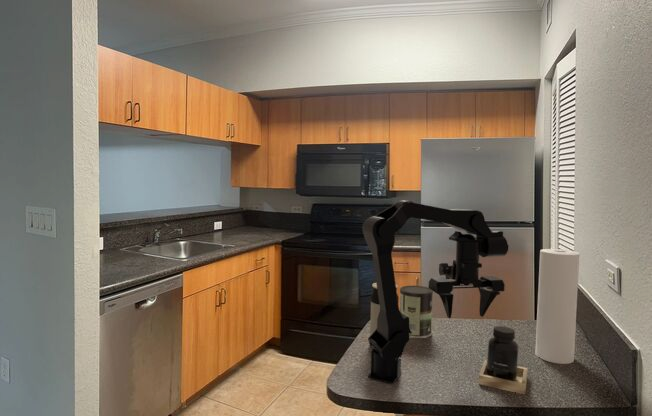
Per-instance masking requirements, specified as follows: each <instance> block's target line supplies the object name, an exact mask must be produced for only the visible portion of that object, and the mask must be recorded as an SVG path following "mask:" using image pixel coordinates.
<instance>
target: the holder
mask: <svg viewBox="0 0 652 416" xmlns="http://www.w3.org/2000/svg"><path fill="white" fill-rule="evenodd" d="M527 381H528V367H523V366H518V365H517V378H516V380H515V381H510V380H506V379H501V378H497V377H492V376H488V375H487V359H484V360H483V364H482V367H481V368H480V372H479V375H478V385H481V386H486V387H490V388H495V389H498V390H503V391H506V392H512V393H515V392H516V393H515V394H520V395H525V396H526V391H527Z"/></svg>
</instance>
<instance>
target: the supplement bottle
mask: <svg viewBox="0 0 652 416" xmlns="http://www.w3.org/2000/svg"><path fill="white" fill-rule="evenodd" d="M492 331H493V332H492V337H490V338H489V339H488V342H487V343H488V344H487V359H486V360H487V375H488V376H492V377H497V378H501V379H506V380H510V381H515V380H516V378H517V366H518V364H519V363H518V362H519V361H518V360H519V345H518V343H517V341H515V340H516V335H515V334H516V332H515V331H516V330H515V329H513V328H510V327H507V326H501V325H500V326H499V325H498V326H494V327H493V330H492Z"/></svg>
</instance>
